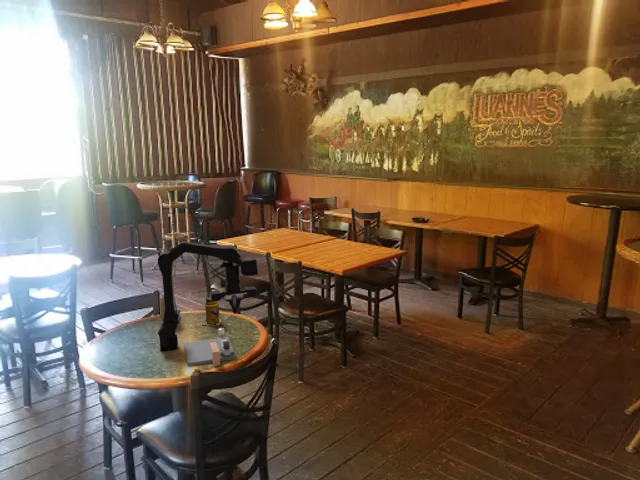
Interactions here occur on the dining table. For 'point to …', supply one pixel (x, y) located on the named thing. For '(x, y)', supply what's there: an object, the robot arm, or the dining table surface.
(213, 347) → the bracket
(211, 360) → the slate board
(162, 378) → the dining table surface
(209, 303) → the condiment
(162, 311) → the squeeze bottle
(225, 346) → the swing arm
